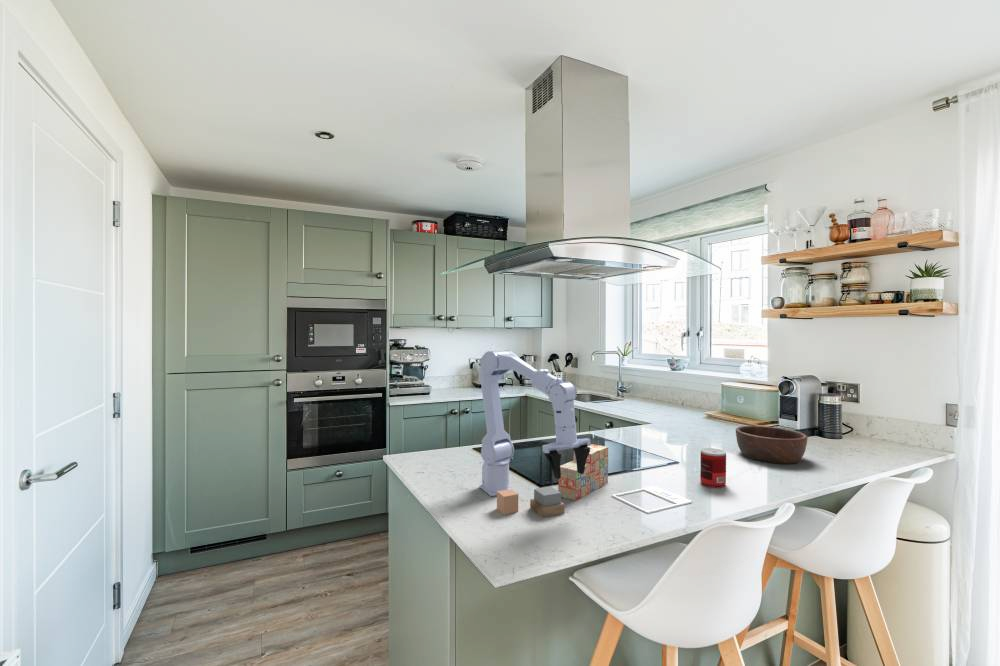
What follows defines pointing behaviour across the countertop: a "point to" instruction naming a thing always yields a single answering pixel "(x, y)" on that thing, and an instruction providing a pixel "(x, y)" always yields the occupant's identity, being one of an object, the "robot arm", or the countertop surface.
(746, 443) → the wooden bowl
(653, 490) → the photo frame
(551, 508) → the walnut base block
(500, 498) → the terracotta block
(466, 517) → the countertop surface
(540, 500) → the gray top block
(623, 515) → the countertop surface
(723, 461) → the canned food
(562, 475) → the stack of blocks
